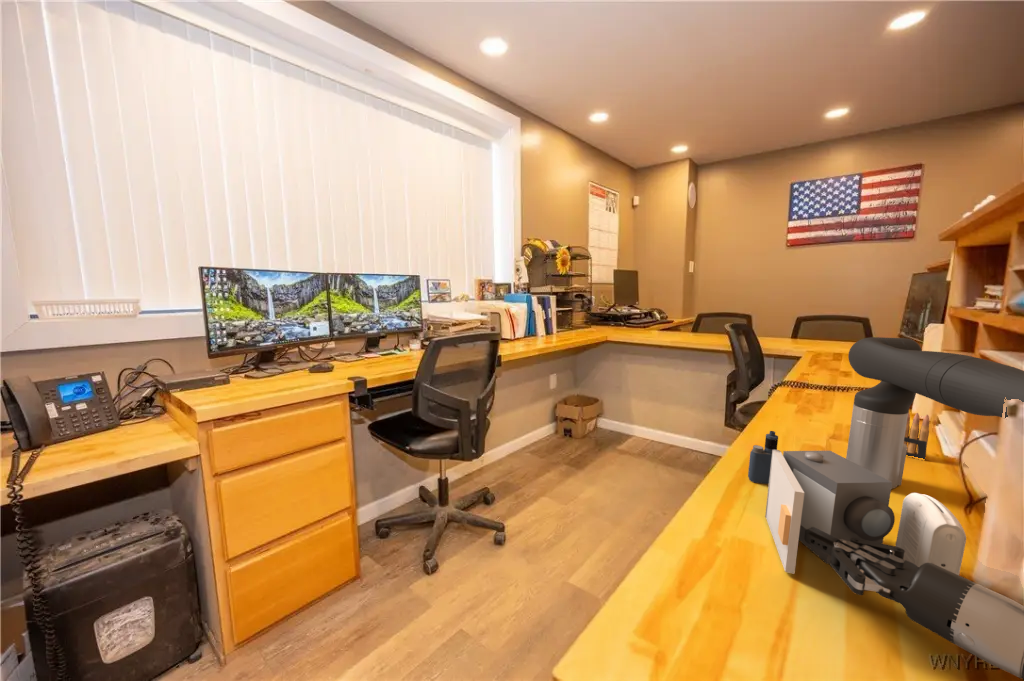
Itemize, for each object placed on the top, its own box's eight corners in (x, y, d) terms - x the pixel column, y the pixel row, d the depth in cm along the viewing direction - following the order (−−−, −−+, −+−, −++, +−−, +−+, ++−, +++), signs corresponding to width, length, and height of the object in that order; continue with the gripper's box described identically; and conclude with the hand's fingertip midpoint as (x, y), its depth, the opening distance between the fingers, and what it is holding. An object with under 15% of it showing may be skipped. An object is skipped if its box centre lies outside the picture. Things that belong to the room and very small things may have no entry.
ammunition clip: (870, 447, 112) (876, 406, 110) (871, 446, 113) (877, 404, 111) (924, 461, 104) (932, 416, 102) (925, 459, 105) (932, 414, 103)
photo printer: (960, 603, 58) (975, 523, 56) (920, 593, 59) (934, 516, 58) (923, 558, 67) (935, 489, 65) (889, 551, 69) (900, 483, 67)
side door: (772, 516, 78) (780, 450, 76) (795, 574, 63) (805, 493, 60) (761, 514, 79) (768, 448, 77) (779, 570, 63) (789, 490, 61)
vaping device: (775, 485, 91) (781, 434, 89) (750, 482, 92) (755, 432, 90) (770, 479, 93) (776, 430, 92) (746, 477, 94) (750, 428, 93)
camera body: (821, 519, 78) (830, 446, 76) (893, 572, 64) (907, 485, 62) (775, 520, 78) (783, 447, 75) (837, 573, 63) (850, 485, 61)
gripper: (996, 569, 50) (832, 500, 65) (954, 608, 43) (785, 522, 59) (985, 622, 51) (827, 542, 66) (942, 668, 45) (779, 569, 60)
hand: (807, 533), depth 62 cm, fingers closed
